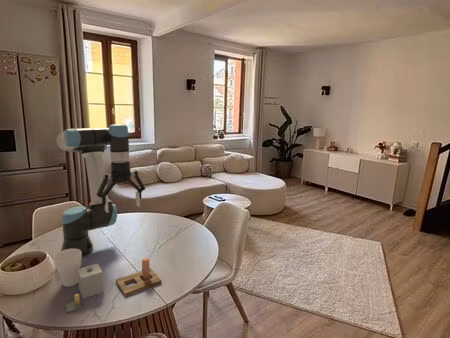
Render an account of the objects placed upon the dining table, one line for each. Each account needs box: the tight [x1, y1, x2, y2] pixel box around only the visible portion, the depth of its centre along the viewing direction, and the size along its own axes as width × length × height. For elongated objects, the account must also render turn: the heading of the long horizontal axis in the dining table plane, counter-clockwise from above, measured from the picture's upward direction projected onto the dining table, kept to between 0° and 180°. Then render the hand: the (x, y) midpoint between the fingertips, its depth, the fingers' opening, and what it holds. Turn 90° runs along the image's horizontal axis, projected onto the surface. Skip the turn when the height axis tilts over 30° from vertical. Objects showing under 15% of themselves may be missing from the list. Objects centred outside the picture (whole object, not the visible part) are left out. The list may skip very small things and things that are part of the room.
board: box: [115, 267, 162, 297], centre depth 127 cm, size 12×16×2 cm
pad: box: [64, 293, 83, 314], centre depth 111 cm, size 5×5×5 cm
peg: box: [141, 257, 151, 281], centre depth 128 cm, size 3×3×10 cm
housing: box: [77, 263, 105, 299], centre depth 120 cm, size 8×8×10 cm
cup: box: [53, 249, 83, 288], centre depth 125 cm, size 10×10×14 cm
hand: (122, 208), depth 127 cm, fingers open, 13 cm apart
